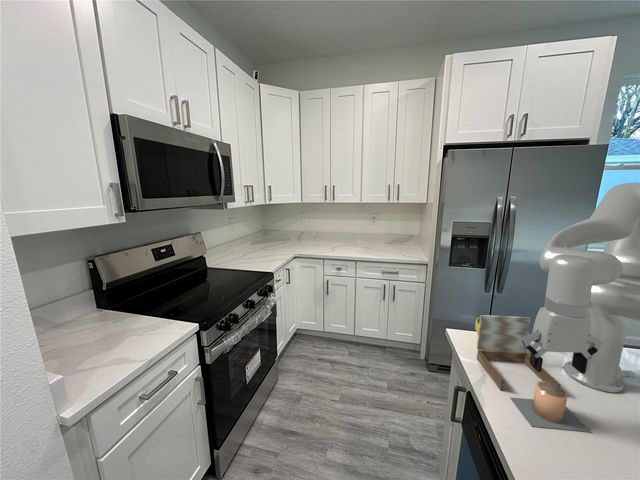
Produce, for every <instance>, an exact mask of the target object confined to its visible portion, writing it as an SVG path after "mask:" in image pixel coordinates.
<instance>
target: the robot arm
mask: <svg viewBox="0 0 640 480" xmlns="http://www.w3.org/2000/svg"><path fill="white" fill-rule="evenodd" d="M602 197H603V198H601V200H600V202H599V203H598V205H597V206H596V208H595V209H594V211H593V213H592V214H591V216H590V217H589V218H587V219H584V220H582V221H579V222H577V223H574V224H572V225H569V226H567V227H565V228H562V229H560V230H559V231H558V232H557V233H556V232H555V234H553V236H552V237H551V239H550V240H549V241H548V243H547V244H546V245H545V247H544V249H543V250H542V252H541V254H540V257H539V266H540V268H541V269H542V271H544V272H545V273H547V274H548V275H547V283H546V292H545V298H544V306H543V307H540V308H539V310H538V312H537V314H536V317H535V321H534V323H533V328H532V332H531V333H529V334H528V335H526V336H523V337H521V341H522V343H523V344H524V347H526V348H527V349H526V350H527V351H529V353H530V355H529V356H530V361H529V362H530V365H531V366H532V367H533V368H534V369H535V370H536V371H537V372H541V370H542V368H543V364H544V363H543V362H544V359H543V357H542V356H543V355H544V354H546V353H547V352H550V353H572V358H571V360H570V361H569V360H568V361H566V362H565V363H564V364H563V369H564V370H563V371H564V372H565V373H566V375H568V376H569V377H570V378H571V379H573V380H575V381H577V382H579V383H580V384H582V385H584V386H587V387H589V388H592V389H594V390H598V391H601V392H606V393H620V392H622V391H623V390H624V383H623V381H622V380H621V379H624V378H628V379H635V378H636V373H635V372H634V371H632V370H625V369H624V370H622V368H621V366H620V363H621V359H622V355H623V354H622V353H623V349H624V345H625V340H626V336H627V329H626V326H625V324H624V322H623V321H622V319H621V318H620V317H623V318H625V319H626V318H627V319H629V320H633V321H637V322H640V284H635V283H632V282H636V283H640V182H626V183H625V182H624V183H621V184H617V185H615V186H612V187H611V188H610V189H608V190H607V192H606V193H605V195H604V196H602ZM601 243H606V245H605V246H604V249H603V251H602V252H601V251H594V250H586V249H581V248H575V247H579V246H583V245H590V244H591V245H592V244H601ZM618 279H619V280H618ZM621 280H625V281H631V283H630V282H625V281H621ZM532 342H534V343H532ZM531 343H532V344H531Z"/></svg>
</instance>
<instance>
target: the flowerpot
mask: <svg viewBox="0 0 640 480" xmlns="http://www.w3.org/2000/svg"><path fill="white" fill-rule="evenodd" d="M533 394H534V395H533V399H534V400H533V406H532V408H533V410H534V412H535V413H536V414H537V415H538V416H540V417H541V418H543V419H545V420H547V421H549V422H552V423H562V422H563V419H564V413H565V408H566V407H567V401H568V397H569V396H568V393H567V391H566V390H564V389H563V388H562V387H561V386H560V387H559V386H557V385H555V384H553V383H550V382H546V381H541V380H538V381H536V383H535V388H534V393H533Z"/></svg>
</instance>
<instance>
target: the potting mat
mask: <svg viewBox="0 0 640 480" xmlns="http://www.w3.org/2000/svg"><path fill="white" fill-rule="evenodd" d="M509 399H510V400H511V401H512V403H513V404H514V405H515V408H517V410H518V411H519V413H521V414H522V416H523V417H524V419H525V420H526V421H527V423H528V424H529V425H530V426H531V427H533V428H542V429H553V430H561V431H571V432H572V431H573V432H574V431H575V432H583V433H584V432H585V433H592V431H591V430H590V429H589V427H588V426H587V425H585V424H584V423H583V422H582V421H581V419H579V418H578V417H577V415H576V414H574V412H572V411H571V409H570V408H569V407H568V406H566V408H565V413H564V419H563V422H562V423H552V422H549V421H547V420H545V419H543V418H541V417H540V416H538V415H537V414H536V413H535V412H534V410H533V408H532V406H533V400H534V398H524V397H523V398H521V397H520V398H519V397H511V396H510V397H509Z"/></svg>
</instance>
